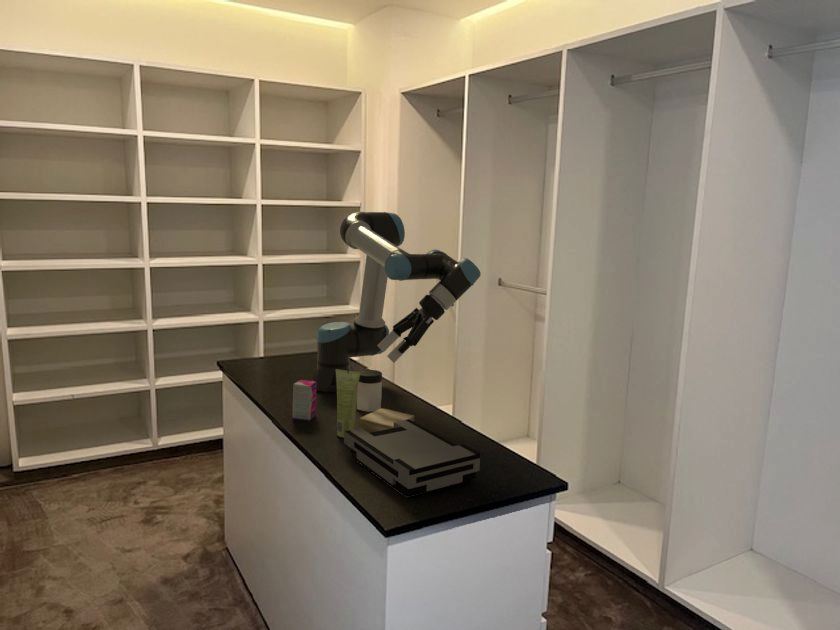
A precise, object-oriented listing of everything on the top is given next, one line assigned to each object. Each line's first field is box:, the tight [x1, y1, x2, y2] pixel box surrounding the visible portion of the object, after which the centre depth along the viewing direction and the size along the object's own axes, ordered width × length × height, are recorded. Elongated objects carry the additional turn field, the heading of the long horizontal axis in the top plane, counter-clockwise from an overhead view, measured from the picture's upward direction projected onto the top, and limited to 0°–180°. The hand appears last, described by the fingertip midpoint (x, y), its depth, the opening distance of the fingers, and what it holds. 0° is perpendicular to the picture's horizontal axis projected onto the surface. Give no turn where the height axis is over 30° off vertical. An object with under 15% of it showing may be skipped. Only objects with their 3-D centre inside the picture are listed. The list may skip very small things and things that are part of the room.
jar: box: [356, 369, 383, 413], centre depth 210 cm, size 9×8×12 cm
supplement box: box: [291, 379, 317, 422], centre depth 198 cm, size 6×6×12 cm
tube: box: [336, 369, 360, 439], centre depth 184 cm, size 6×5×20 cm
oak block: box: [358, 407, 415, 433], centre depth 191 cm, size 12×12×4 cm
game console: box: [343, 419, 481, 497], centre depth 163 cm, size 21×32×8 cm, turn 34°
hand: (385, 354), depth 184 cm, fingers open, 13 cm apart
